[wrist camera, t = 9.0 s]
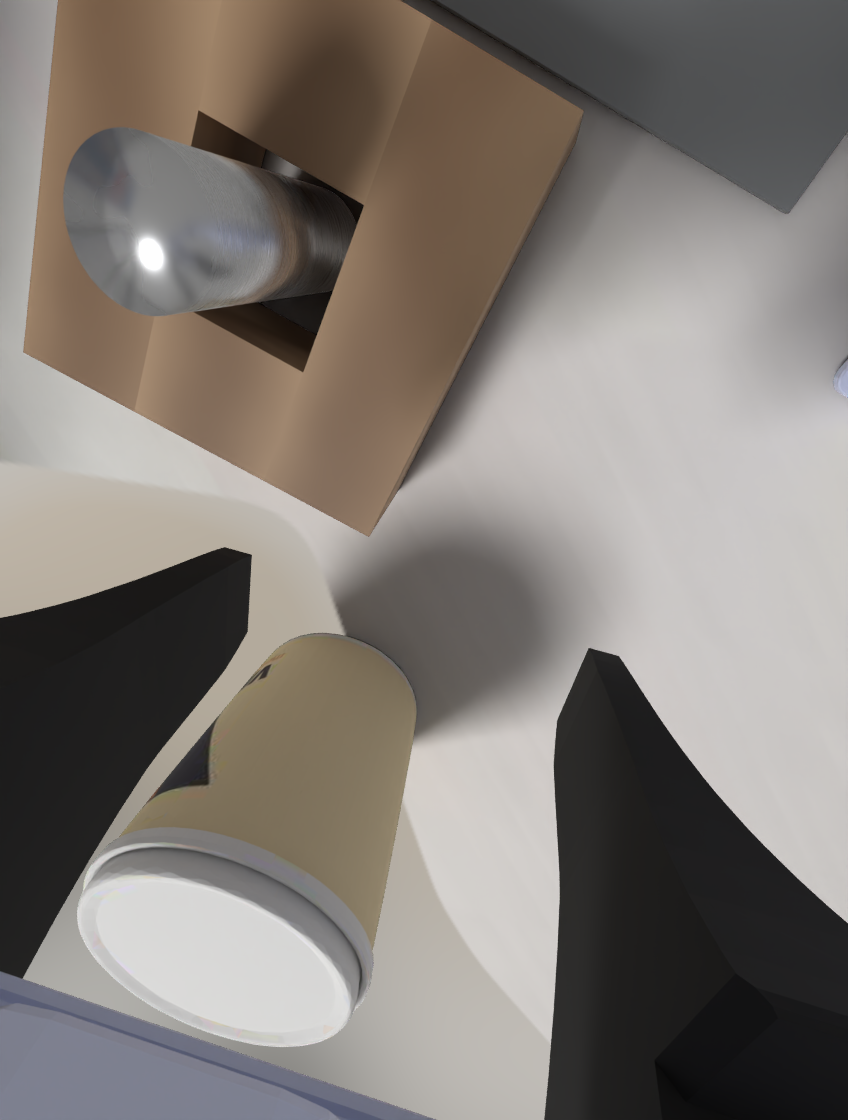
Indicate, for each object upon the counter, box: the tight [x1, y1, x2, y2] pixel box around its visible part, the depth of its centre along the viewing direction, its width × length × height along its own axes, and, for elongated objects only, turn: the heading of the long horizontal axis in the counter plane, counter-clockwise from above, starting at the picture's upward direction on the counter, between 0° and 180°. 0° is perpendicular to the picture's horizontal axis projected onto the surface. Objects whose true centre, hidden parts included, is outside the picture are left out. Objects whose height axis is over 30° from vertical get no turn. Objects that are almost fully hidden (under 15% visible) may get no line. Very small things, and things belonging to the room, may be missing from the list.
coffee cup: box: [77, 633, 417, 1047], centre depth 22 cm, size 9×9×12 cm
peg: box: [63, 127, 357, 316], centre depth 14 cm, size 3×3×9 cm
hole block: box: [23, 0, 584, 537], centre depth 17 cm, size 12×12×4 cm
